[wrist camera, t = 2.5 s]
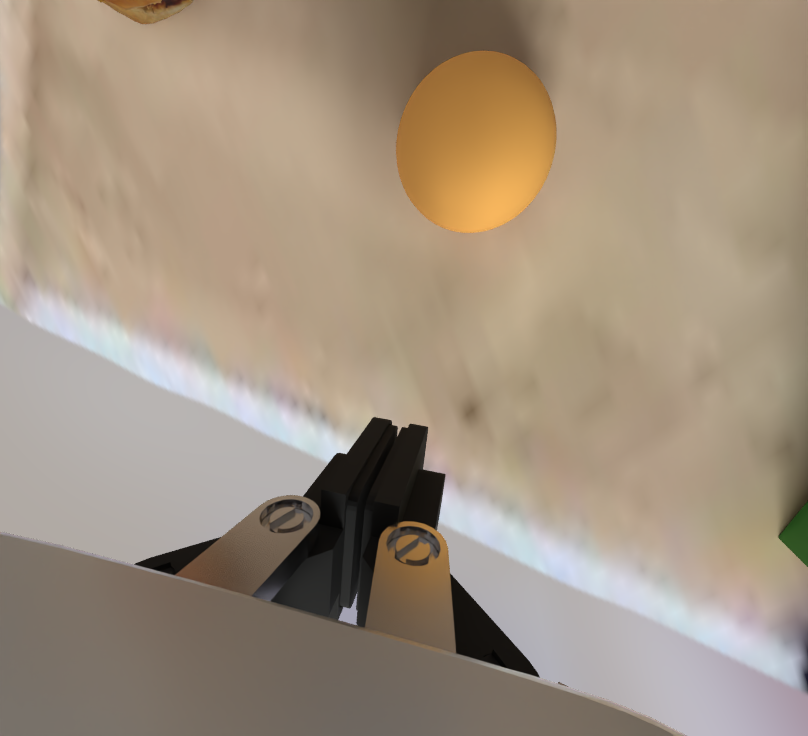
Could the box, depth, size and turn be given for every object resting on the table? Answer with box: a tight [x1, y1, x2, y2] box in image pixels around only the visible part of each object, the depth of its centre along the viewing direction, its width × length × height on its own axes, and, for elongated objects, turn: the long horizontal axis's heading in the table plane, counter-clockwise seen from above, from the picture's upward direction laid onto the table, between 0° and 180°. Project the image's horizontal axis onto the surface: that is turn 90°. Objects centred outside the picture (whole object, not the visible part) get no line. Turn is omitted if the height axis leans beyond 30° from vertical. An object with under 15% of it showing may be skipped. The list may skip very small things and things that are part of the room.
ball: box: [396, 51, 556, 233], centre depth 15 cm, size 6×6×6 cm
